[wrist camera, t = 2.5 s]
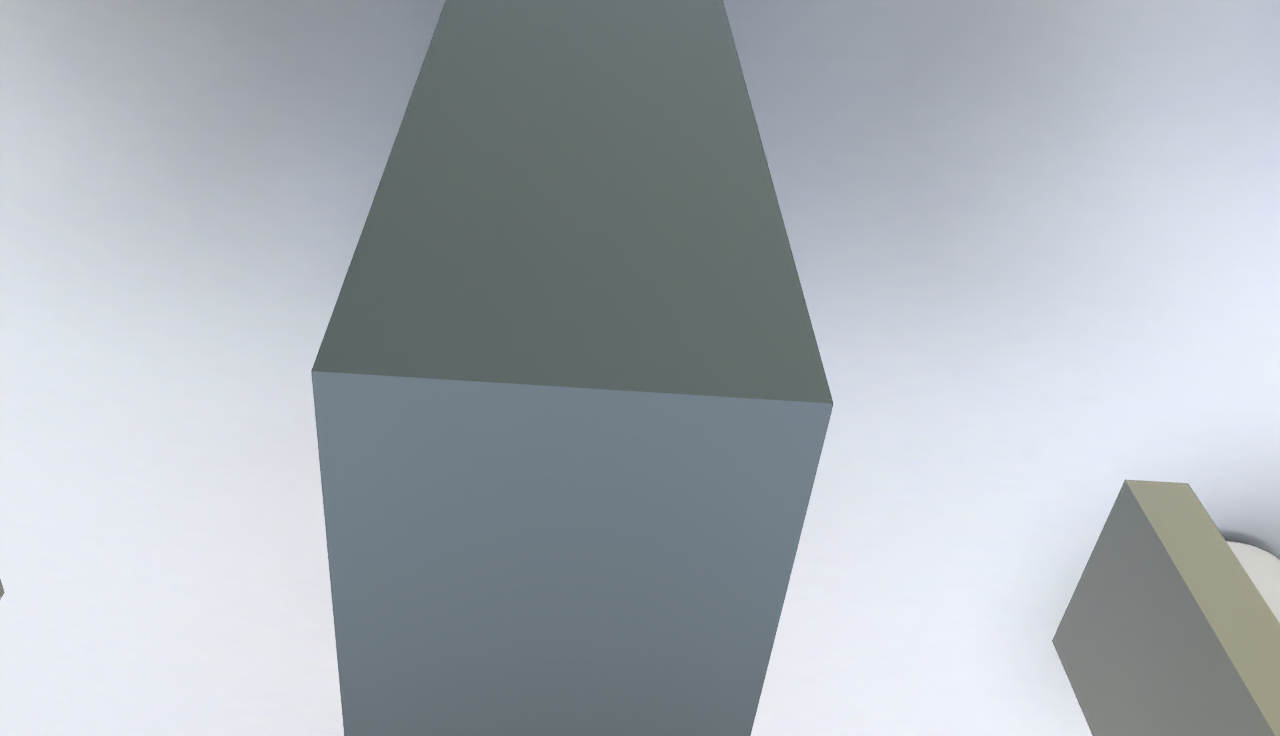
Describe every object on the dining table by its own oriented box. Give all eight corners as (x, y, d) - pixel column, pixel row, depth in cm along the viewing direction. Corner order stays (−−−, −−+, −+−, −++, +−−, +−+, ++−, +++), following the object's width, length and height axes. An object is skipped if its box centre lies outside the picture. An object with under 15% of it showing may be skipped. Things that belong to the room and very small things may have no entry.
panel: (504, -159, 18) (310, 371, 6) (683, -142, 19) (832, 403, 7) (491, 339, 24) (378, 1116, 12) (629, 347, 24) (654, 1119, 12)
